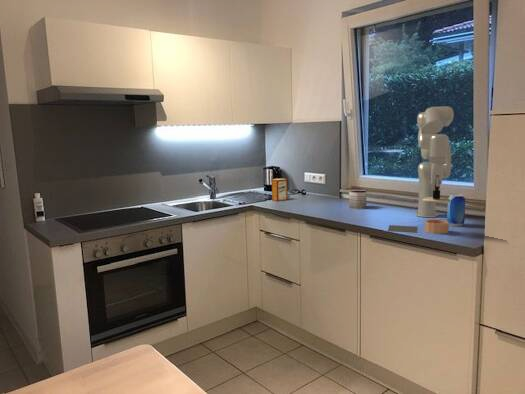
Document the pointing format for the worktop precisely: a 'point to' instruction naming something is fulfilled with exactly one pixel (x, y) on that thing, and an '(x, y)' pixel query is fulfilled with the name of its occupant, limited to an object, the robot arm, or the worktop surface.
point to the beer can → (456, 210)
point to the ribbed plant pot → (357, 199)
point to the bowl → (436, 226)
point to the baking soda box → (279, 190)
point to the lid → (436, 200)
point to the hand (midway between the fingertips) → (436, 197)
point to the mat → (402, 228)
